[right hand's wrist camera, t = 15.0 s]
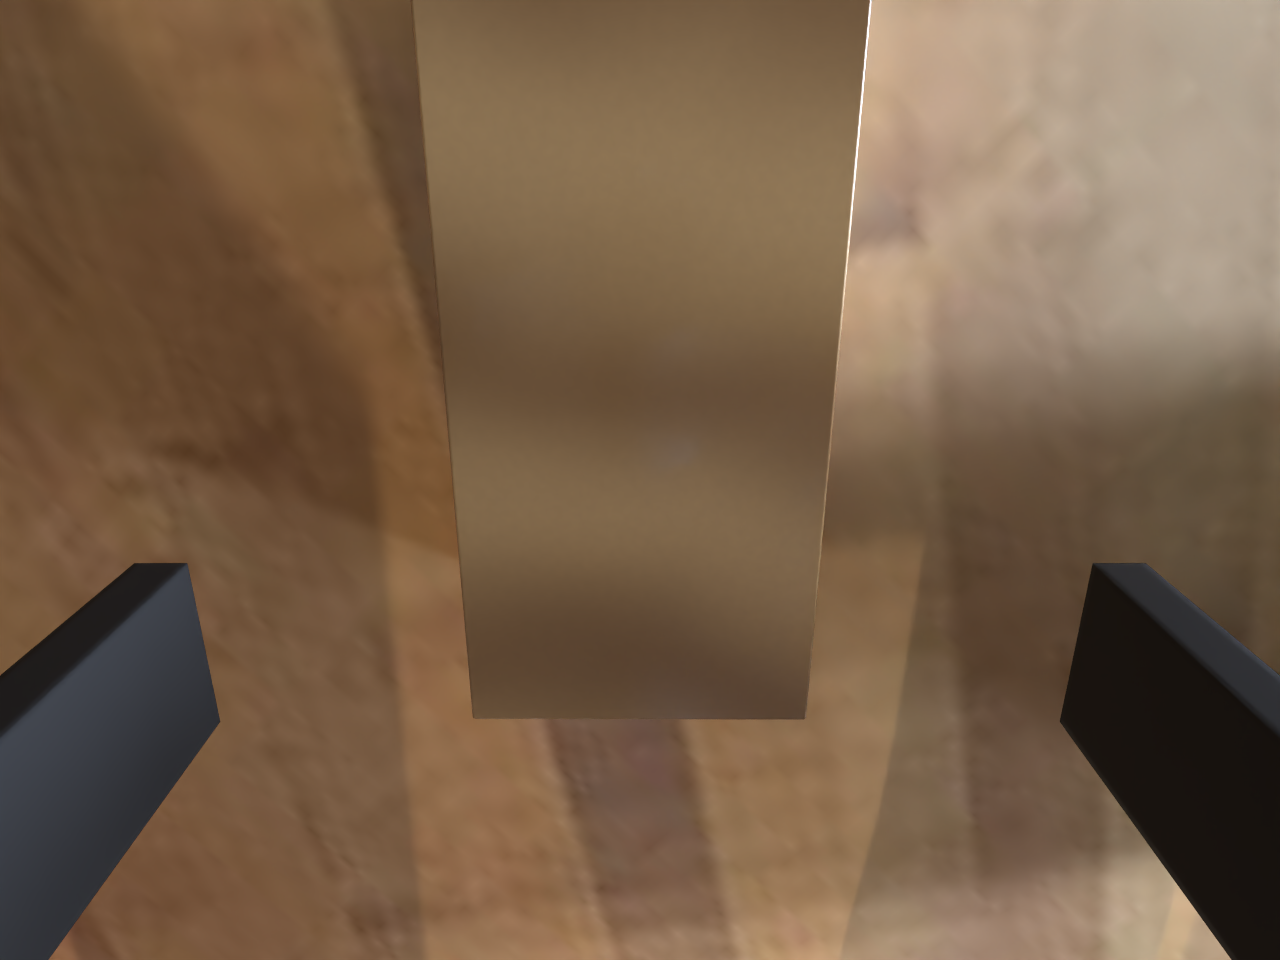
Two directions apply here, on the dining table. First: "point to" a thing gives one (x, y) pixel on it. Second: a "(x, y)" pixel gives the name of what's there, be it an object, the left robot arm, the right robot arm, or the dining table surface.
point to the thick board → (640, 340)
